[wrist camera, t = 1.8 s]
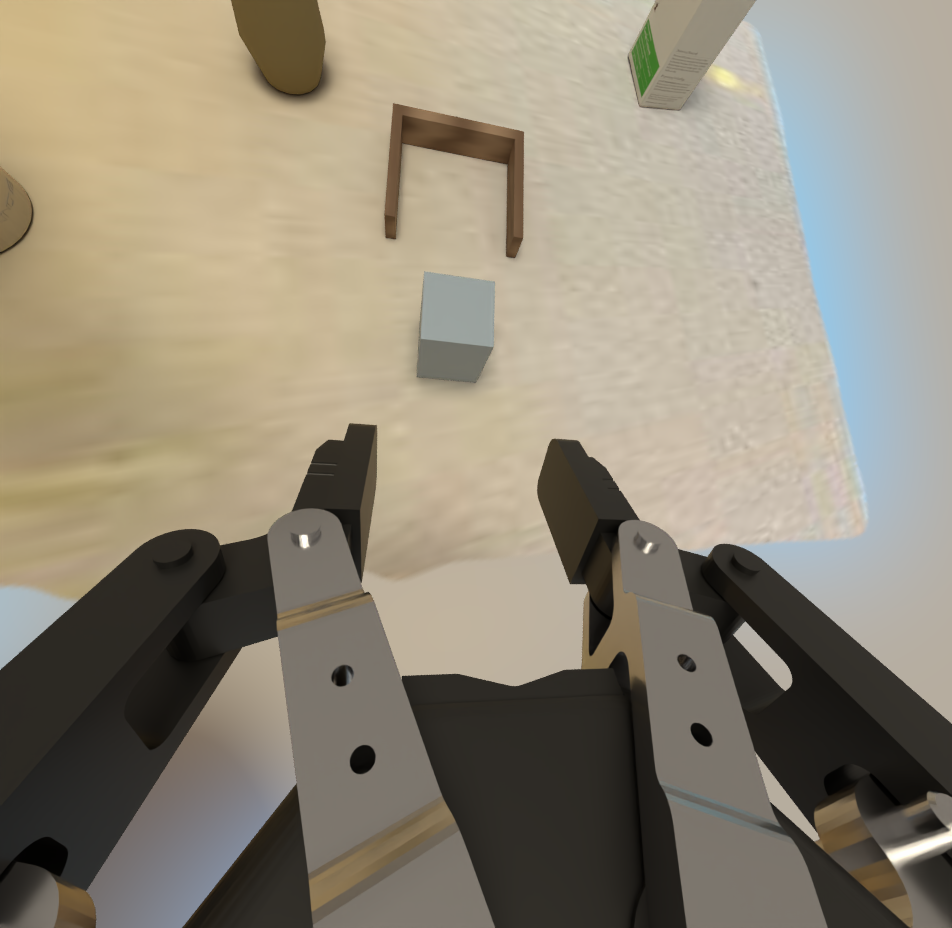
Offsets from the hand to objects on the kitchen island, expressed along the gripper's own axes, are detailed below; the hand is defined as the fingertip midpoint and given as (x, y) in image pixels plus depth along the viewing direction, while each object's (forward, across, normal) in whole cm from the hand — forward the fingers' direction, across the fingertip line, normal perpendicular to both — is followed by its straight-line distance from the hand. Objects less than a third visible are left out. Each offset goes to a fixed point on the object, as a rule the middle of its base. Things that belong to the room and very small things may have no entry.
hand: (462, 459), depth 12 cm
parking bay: (+43, -2, -6) cm, 43 cm away
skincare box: (+59, -28, -22) cm, 69 cm away
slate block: (+30, -2, +7) cm, 31 cm away
